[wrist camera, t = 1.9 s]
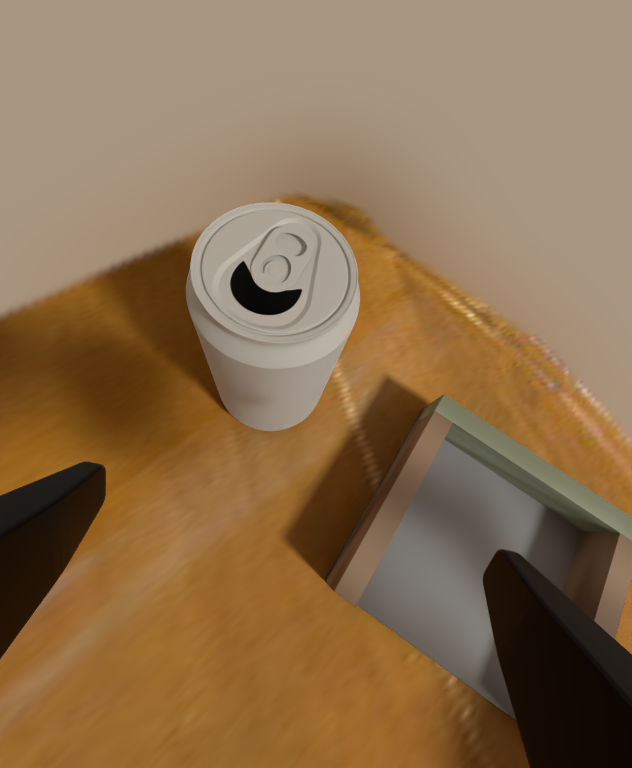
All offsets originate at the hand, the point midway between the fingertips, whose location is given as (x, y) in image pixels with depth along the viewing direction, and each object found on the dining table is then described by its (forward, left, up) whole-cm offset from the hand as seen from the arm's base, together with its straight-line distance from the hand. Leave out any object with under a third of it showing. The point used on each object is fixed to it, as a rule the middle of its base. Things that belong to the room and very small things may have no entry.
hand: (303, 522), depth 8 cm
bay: (+5, -10, -14) cm, 18 cm away
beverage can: (+6, +5, -14) cm, 16 cm away
